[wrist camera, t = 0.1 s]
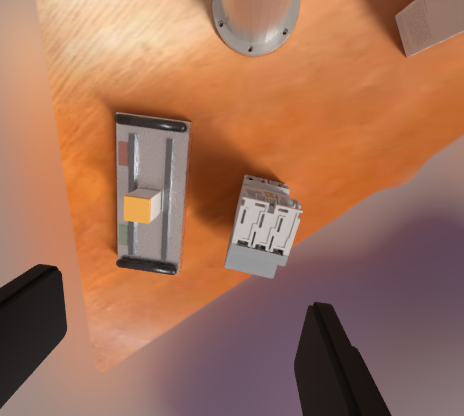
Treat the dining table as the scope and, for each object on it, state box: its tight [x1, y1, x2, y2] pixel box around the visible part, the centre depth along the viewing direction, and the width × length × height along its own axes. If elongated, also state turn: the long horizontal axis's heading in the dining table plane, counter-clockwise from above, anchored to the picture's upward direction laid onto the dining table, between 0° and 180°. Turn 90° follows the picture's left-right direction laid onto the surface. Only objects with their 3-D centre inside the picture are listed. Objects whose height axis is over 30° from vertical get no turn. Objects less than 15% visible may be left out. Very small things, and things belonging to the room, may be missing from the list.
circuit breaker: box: [224, 174, 303, 279], centre depth 40 cm, size 8×14×15 cm, turn 167°
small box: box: [395, 0, 464, 58], centre depth 30 cm, size 8×6×13 cm
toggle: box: [124, 188, 161, 224], centre depth 41 cm, size 4×4×6 cm
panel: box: [114, 112, 193, 275], centre depth 45 cm, size 28×12×4 cm, turn 173°
